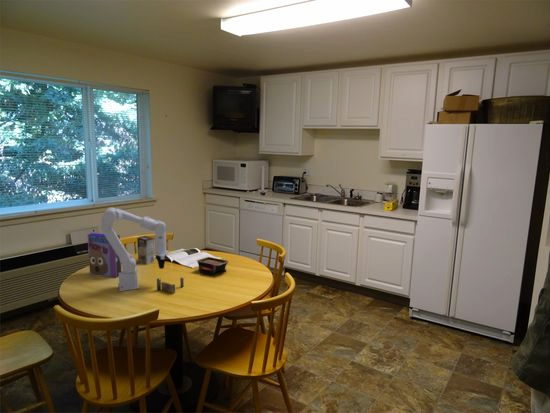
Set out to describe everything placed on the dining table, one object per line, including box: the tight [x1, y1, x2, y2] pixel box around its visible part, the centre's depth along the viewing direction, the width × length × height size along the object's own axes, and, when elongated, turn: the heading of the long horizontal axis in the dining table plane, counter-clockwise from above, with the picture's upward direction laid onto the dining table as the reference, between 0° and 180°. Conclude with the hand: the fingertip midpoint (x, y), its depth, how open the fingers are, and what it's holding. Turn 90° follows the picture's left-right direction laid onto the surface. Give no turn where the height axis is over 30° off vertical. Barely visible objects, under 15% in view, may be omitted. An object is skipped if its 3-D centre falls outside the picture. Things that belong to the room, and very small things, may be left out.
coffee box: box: [137, 235, 155, 265], centre depth 241 cm, size 9×6×16 cm
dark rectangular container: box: [196, 256, 229, 277], centre depth 226 cm, size 14×18×10 cm
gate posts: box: [156, 277, 184, 292], centre depth 200 cm, size 14×2×6 cm, turn 114°
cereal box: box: [86, 232, 122, 279], centre depth 216 cm, size 17×5×24 cm, turn 76°
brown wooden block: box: [161, 281, 176, 294], centre depth 196 cm, size 8×2×4 cm, turn 59°
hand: (161, 268), depth 204 cm, fingers closed
